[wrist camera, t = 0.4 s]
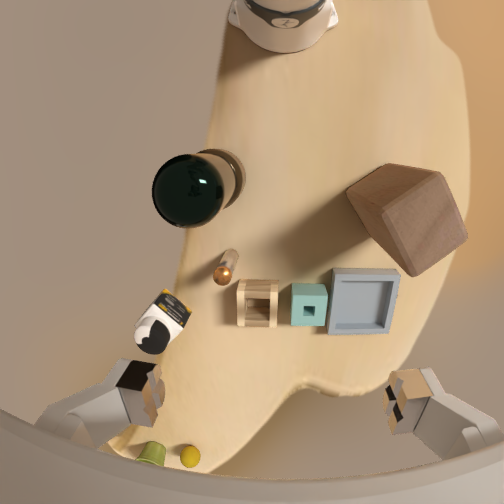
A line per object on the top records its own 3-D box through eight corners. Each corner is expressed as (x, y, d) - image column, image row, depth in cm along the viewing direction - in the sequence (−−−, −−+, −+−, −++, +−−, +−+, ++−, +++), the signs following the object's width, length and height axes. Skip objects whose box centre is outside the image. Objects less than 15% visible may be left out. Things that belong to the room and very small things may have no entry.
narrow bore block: (291, 283, 57) (292, 295, 53) (324, 283, 57) (328, 295, 52) (290, 311, 59) (290, 325, 54) (321, 312, 59) (324, 325, 54)
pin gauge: (223, 248, 56) (212, 268, 47) (238, 248, 56) (230, 269, 47) (224, 262, 57) (213, 285, 48) (238, 262, 57) (231, 285, 47)
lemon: (206, 450, 76) (200, 471, 68) (189, 452, 77) (183, 472, 69) (197, 440, 74) (191, 461, 67) (180, 441, 76) (173, 462, 68)
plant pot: (160, 436, 76) (152, 458, 68) (177, 454, 78) (170, 476, 70) (136, 438, 78) (127, 458, 69) (153, 455, 80) (145, 475, 72)
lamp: (257, 183, 52) (244, 205, 31) (213, 215, 54) (173, 256, 34) (224, 137, 50) (188, 130, 29) (180, 171, 52) (122, 187, 32)
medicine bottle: (192, 310, 61) (175, 345, 49) (173, 331, 63) (154, 365, 51) (165, 287, 60) (142, 317, 48) (146, 309, 62) (122, 340, 50)
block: (342, 190, 51) (377, 214, 32) (388, 160, 49) (444, 169, 30) (370, 237, 53) (412, 283, 34) (413, 208, 51) (472, 239, 32)
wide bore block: (240, 279, 58) (236, 290, 53) (278, 280, 57) (278, 292, 53) (240, 312, 60) (237, 325, 55) (276, 313, 59) (276, 327, 55)
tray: (332, 267, 56) (335, 274, 53) (395, 268, 55) (400, 274, 52) (326, 326, 60) (327, 334, 57) (384, 325, 59) (388, 333, 56)
